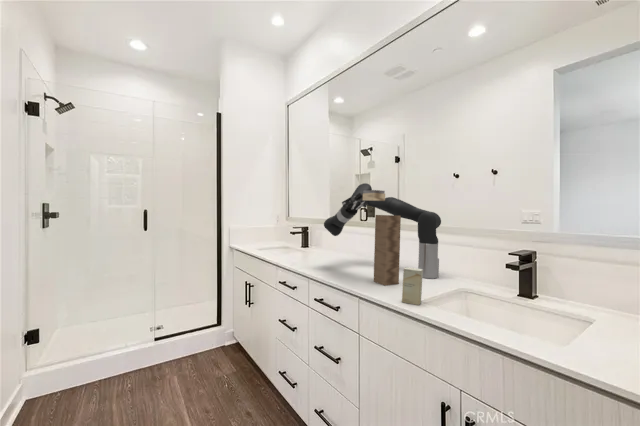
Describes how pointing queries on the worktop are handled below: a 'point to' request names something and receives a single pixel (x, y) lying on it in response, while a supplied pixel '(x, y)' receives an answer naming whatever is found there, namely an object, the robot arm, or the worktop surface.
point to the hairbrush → (373, 195)
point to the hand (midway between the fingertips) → (364, 194)
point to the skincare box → (412, 285)
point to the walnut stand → (387, 249)
